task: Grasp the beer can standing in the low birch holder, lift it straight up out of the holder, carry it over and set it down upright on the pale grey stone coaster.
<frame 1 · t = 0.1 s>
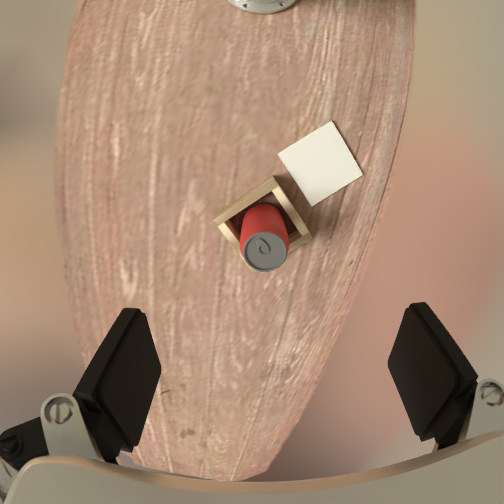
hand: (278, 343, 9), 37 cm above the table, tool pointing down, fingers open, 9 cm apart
beer can: (263, 221, 47), resting in holder
holder: (263, 221, 47), on the table
coaster: (321, 163, 42), on the table
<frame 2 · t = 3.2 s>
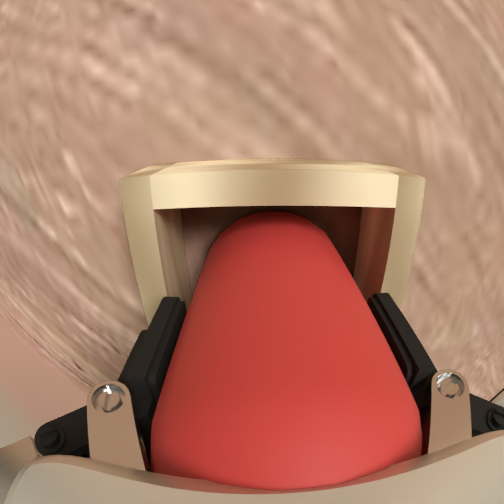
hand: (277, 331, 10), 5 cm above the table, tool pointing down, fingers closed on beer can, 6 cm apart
beer can: (272, 268, 15), resting in holder, touching gripper
holder: (272, 270, 14), on the table
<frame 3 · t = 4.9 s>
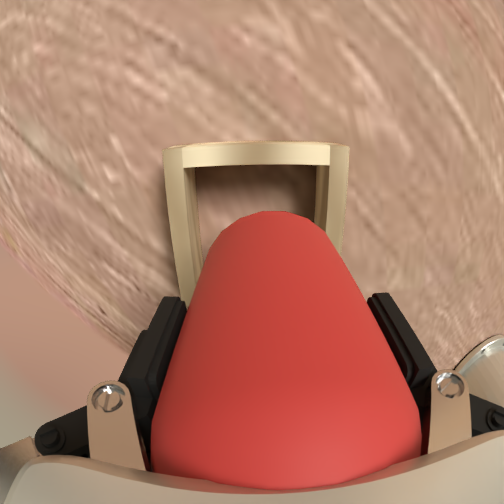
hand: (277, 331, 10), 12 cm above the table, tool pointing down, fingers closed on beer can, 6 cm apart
beer can: (271, 268, 15), point 7 cm above the table, touching gripper
holder: (256, 216, 21), on the table
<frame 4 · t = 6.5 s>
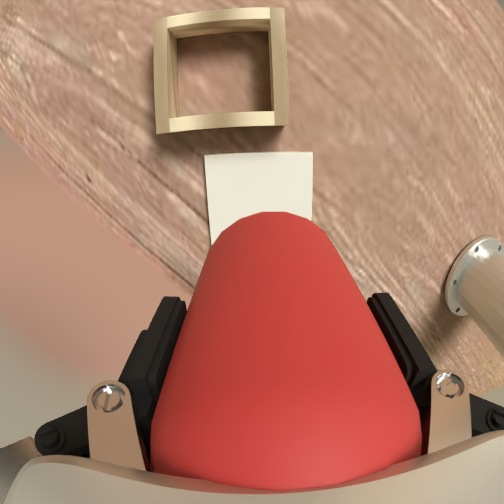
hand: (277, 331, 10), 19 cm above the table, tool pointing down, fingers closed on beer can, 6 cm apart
beer can: (272, 268, 15), point 14 cm above the table, touching gripper
holder: (222, 72, 22), on the table
coaster: (260, 203, 28), on the table
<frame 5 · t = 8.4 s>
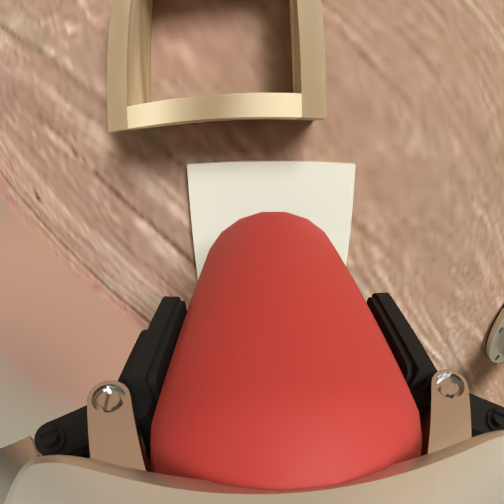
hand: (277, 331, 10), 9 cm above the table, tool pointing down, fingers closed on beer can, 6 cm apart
beer can: (271, 269, 15), point 4 cm above the table, touching gripper
holder: (218, 37, 13), on the table
coaster: (271, 238, 19), on the table
when the fingers open (7 cm above the table, at t = 9.9 s): beer can drops 1 cm, resting on coaster.
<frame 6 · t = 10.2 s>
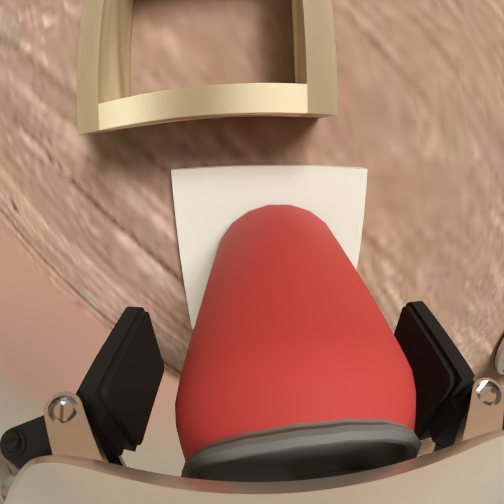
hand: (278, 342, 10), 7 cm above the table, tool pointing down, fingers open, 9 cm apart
beer can: (277, 258, 16), resting on coaster
holder: (208, 23, 11), on the table
coaster: (270, 254, 16), on the table
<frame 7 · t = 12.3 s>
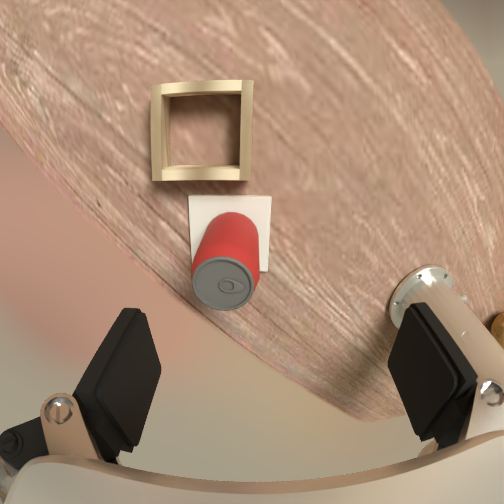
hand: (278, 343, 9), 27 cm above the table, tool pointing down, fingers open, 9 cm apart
beer can: (232, 234, 36), resting on coaster
holder: (205, 129, 31), on the table
potato: (497, 320, 44), on the table
coaster: (229, 233, 36), on the table
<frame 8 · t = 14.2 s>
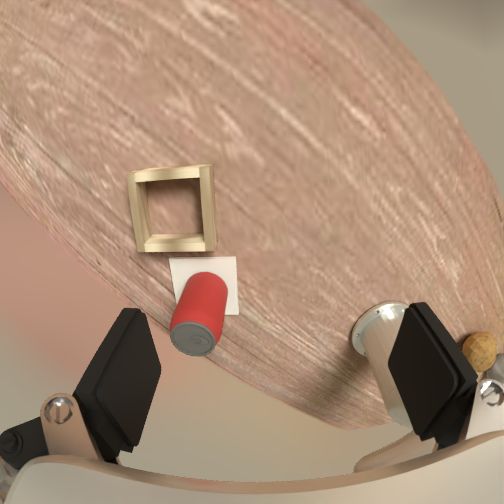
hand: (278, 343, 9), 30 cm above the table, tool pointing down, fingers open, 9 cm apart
beer can: (207, 287, 44), resting on coaster
holder: (176, 205, 39), on the table
potato: (470, 339, 50), on the table
stone: (495, 361, 55), on the table
coaster: (205, 286, 44), on the table
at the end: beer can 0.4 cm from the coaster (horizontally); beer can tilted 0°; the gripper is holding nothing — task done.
